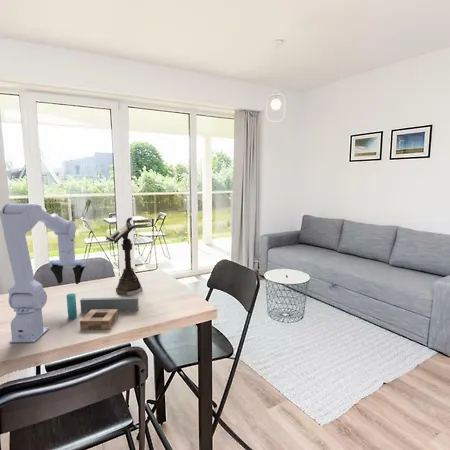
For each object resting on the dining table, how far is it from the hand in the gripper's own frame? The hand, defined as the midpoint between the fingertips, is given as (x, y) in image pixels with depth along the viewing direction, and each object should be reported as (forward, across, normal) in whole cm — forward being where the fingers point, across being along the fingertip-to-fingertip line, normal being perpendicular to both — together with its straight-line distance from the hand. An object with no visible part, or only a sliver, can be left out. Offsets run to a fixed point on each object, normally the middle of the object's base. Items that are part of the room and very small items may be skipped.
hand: (69, 283), depth 130 cm
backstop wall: (+10, -18, +2) cm, 21 cm away
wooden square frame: (+10, -20, +14) cm, 26 cm away
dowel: (+10, -7, +10) cm, 16 cm away
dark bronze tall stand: (+10, -16, -18) cm, 26 cm away
